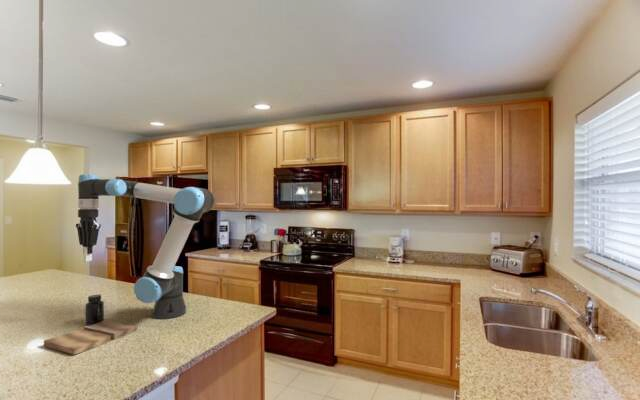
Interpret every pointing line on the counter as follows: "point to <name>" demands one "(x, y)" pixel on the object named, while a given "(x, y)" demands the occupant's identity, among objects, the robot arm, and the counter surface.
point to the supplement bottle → (94, 310)
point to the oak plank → (77, 341)
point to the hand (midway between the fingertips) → (87, 260)
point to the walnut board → (112, 328)
